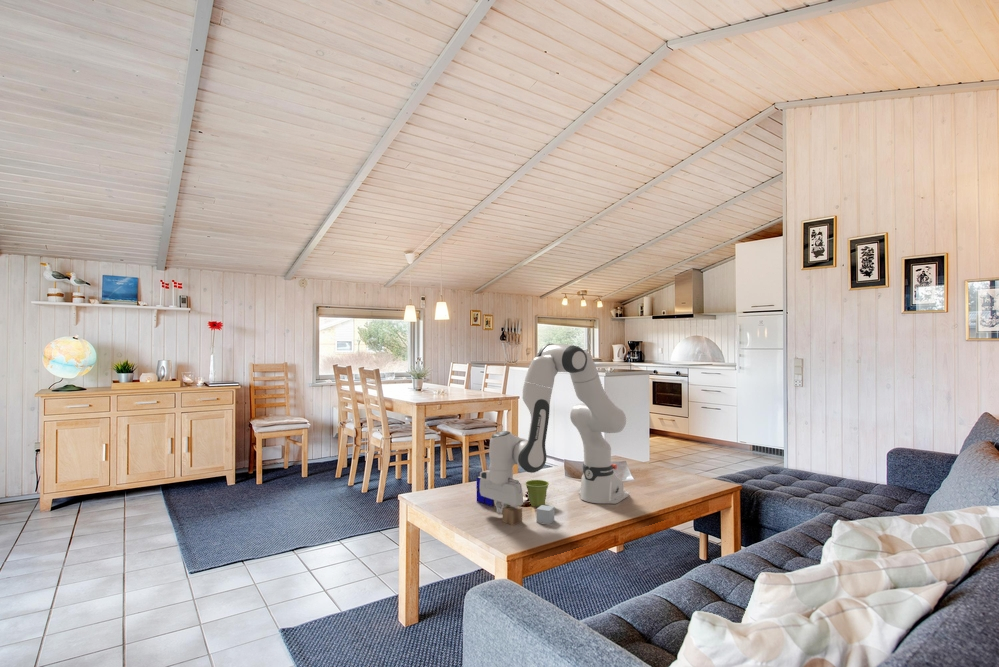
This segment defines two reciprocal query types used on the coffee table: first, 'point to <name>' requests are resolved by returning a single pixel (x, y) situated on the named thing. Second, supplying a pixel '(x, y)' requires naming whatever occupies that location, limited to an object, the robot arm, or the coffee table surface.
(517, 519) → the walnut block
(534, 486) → the plant pot
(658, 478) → the coffee table surface
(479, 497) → the puzzle cube
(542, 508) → the grey-blue block
